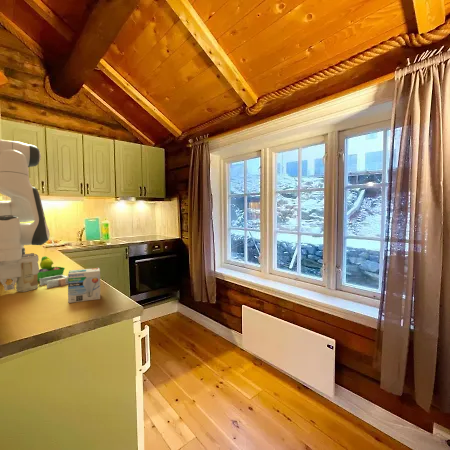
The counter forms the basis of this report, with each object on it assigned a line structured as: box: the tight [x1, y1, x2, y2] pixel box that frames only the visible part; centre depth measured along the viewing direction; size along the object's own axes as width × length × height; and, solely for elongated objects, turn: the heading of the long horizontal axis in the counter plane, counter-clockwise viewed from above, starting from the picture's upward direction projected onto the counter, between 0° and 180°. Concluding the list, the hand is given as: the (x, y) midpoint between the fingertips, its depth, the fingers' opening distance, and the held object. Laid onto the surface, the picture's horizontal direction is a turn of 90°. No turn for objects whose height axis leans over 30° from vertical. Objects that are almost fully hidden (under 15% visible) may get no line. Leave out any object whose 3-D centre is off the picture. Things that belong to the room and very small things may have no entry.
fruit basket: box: [37, 256, 66, 282], centre depth 127 cm, size 11×9×11 cm
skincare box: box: [15, 262, 39, 293], centre depth 109 cm, size 6×4×12 cm
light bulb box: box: [67, 267, 101, 304], centre depth 97 cm, size 11×7×11 cm, turn 117°
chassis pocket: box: [39, 274, 68, 289], centre depth 120 cm, size 18×13×3 cm
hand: (9, 289), depth 104 cm, fingers closed
